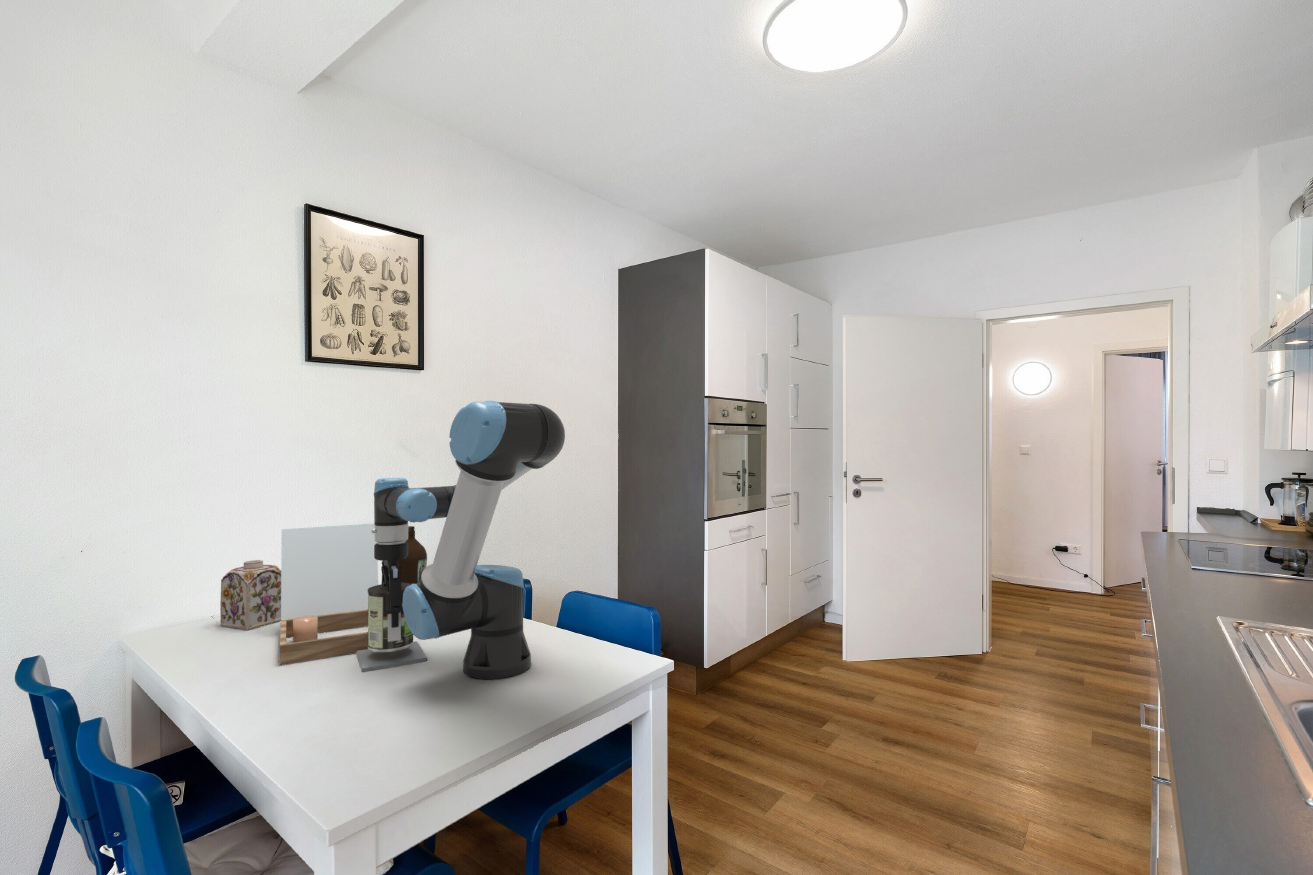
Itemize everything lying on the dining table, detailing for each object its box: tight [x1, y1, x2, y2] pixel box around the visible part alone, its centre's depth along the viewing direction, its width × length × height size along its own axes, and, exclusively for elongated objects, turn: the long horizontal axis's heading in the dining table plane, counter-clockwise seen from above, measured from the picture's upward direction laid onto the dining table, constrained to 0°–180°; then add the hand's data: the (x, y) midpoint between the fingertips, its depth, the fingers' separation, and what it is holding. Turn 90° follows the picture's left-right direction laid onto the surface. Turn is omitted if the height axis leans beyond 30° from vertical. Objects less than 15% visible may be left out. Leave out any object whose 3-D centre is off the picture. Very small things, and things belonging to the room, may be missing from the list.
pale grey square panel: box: [280, 523, 379, 620], centre depth 173 cm, size 24×24×1 cm
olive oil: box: [398, 525, 428, 584], centre depth 197 cm, size 11×11×25 cm
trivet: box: [355, 640, 428, 673], centre depth 148 cm, size 14×14×1 cm
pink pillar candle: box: [292, 616, 319, 643], centre depth 160 cm, size 6×6×6 cm
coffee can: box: [367, 583, 415, 652], centre depth 148 cm, size 10×10×14 cm
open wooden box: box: [279, 609, 368, 666], centre depth 159 cm, size 24×24×4 cm
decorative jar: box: [219, 559, 281, 631], centre depth 177 cm, size 12×12×18 cm
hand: (391, 634), depth 148 cm, fingers closed on coffee can, 10 cm apart
